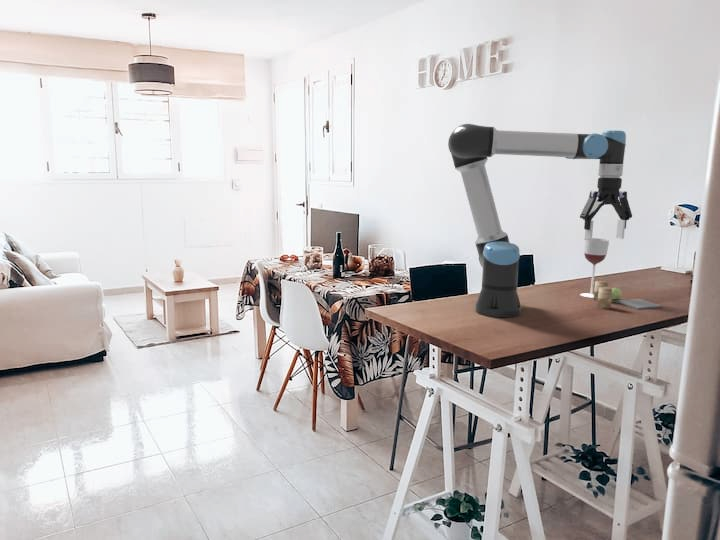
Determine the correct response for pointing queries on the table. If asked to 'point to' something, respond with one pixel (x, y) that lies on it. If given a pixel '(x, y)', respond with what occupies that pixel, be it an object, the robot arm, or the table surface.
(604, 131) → the robot arm
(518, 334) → the table surface
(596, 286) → the cork
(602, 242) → the wineglass
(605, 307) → the cork
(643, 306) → the coaster
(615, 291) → the lime
